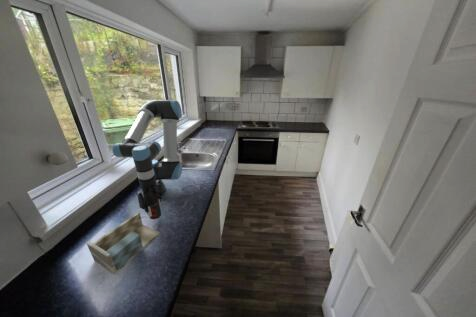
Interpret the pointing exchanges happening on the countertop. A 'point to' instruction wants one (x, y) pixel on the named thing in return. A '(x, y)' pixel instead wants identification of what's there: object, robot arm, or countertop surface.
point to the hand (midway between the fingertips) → (154, 211)
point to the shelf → (124, 232)
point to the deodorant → (154, 205)
